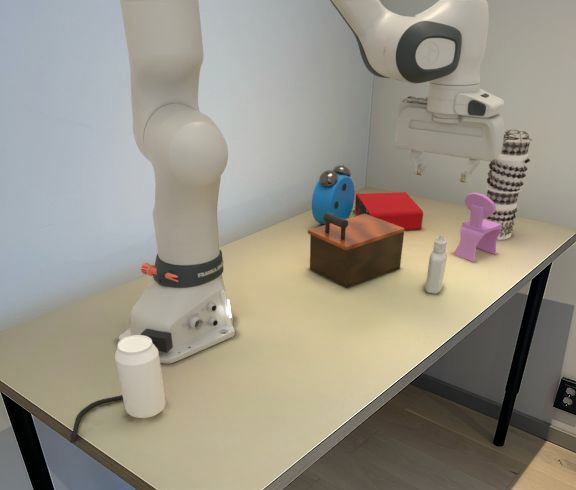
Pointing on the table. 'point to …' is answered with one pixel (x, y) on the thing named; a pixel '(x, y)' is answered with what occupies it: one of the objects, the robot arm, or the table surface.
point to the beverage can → (140, 376)
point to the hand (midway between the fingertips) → (441, 178)
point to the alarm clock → (333, 194)
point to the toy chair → (478, 228)
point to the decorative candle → (507, 179)
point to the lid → (354, 230)
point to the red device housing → (391, 208)
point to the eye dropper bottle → (436, 266)
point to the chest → (356, 260)
